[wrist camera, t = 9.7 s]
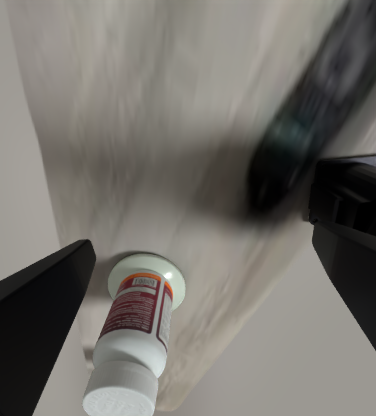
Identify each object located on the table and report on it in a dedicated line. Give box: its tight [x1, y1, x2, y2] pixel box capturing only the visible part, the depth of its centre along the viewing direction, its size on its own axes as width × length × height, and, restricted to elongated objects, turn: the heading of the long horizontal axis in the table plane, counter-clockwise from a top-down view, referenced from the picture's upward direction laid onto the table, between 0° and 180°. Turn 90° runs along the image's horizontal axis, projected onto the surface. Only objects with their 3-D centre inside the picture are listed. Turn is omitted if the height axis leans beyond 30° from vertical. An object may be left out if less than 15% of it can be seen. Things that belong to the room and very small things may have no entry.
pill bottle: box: [82, 270, 173, 416], centre depth 21 cm, size 6×6×11 cm
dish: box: [108, 254, 186, 311], centre depth 27 cm, size 9×9×1 cm
